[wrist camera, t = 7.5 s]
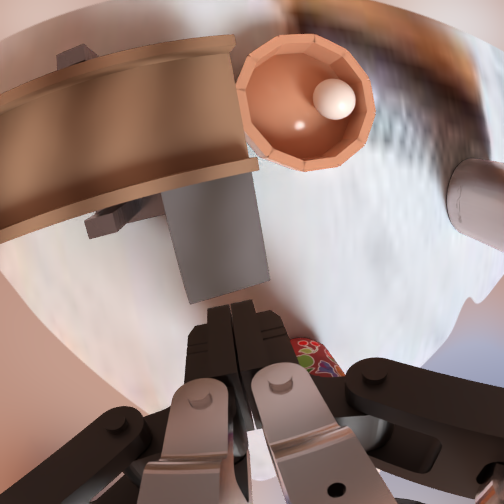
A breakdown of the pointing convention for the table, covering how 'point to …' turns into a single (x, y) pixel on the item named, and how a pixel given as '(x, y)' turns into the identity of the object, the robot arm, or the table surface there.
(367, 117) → the orange bowl
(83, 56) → the stand
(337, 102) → the ball
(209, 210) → the lever
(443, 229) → the table surface
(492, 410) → the robot arm
